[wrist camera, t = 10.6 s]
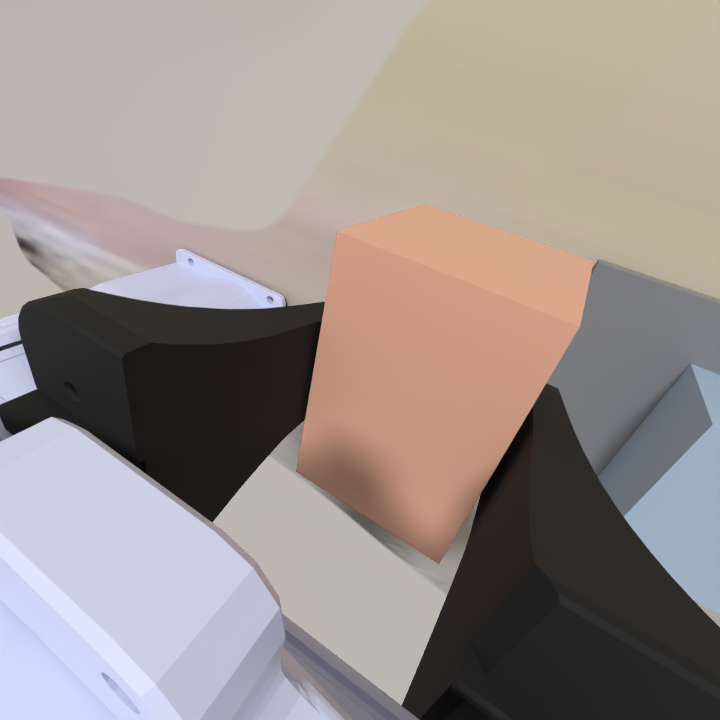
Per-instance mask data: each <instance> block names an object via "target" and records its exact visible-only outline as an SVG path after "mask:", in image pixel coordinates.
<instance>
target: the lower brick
mask: <svg viewBox="0 0 720 720" xmlns="http://www.w3.org/2000/svg"><path fill="white" fill-rule="evenodd" d="M598 479H599V480H600V482H601V484H602V485H603V487H604V488H605V490H606V491H607V493H608V495H609V496H610V498H611V499H612V501H613V502H614V504H615V505H616V507H617V508H618V510H619V511H620V513H621V514H622V515H623V517H624V518H625V520H626V521H627V522H628V524H629V525H630V526H631V528H632V529H633V530H634V531H635V533H636V534H637V535H638V537H639V538H640V539H641V540H642V542H643V543H644V544H645V545H646V547H647V548H648V549H649V551H650V552H651V553H652V554H653V555H654V557H655V558H656V559H657V560H658V561H659V562H660V564H661V565H662V566H663V567H664V568H665V570H666V571H667V572H668V573H669V574H670V575H671V576H672V578H673V579H674V580H675V581H676V582H677V583H678V584H679V585H680V586H681V587H682V588H683V590H684V591H685V592H686V593H687V594H688V595H689V596H690V597H691V598H692V599H693V601H695V602H697V603H699V604H701V605H702V606H704V607H706V608H708V609H710V610H712V611H713V612H715V613H717V614H719V613H720V375H719V374H716V373H714V372H711V371H708V370H706V369H703V368H701V367H698V366H696V365H693V364H690V365H689V366H688V368H687V369H686V370H685V371H684V373H683V374H682V375H681V376H680V377H679V379H678V380H677V381H676V382H675V383H674V385H673V386H672V387H671V388H670V389H669V391H668V392H667V393H666V394H665V396H664V397H663V398H662V399H661V400H660V402H659V403H658V404H657V405H656V406H655V408H654V409H653V410H652V411H651V413H650V414H649V415H648V416H647V417H646V419H645V420H644V421H643V422H642V423H641V425H640V426H639V427H638V428H637V429H636V431H635V432H634V433H633V434H632V436H631V437H630V438H629V439H628V440H627V442H626V443H625V444H624V445H623V446H622V448H621V449H620V450H619V451H618V452H617V454H616V455H615V456H614V457H613V459H612V460H611V461H610V462H609V463H608V465H607V466H606V467H605V468H604V469H603V471H602V472H601V473H600V474H599V476H598Z"/></svg>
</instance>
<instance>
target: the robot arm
mask: <svg viewBox="0 0 720 720" xmlns="http://www.w3.org/2000/svg"><path fill="white" fill-rule="evenodd" d="M271 297H272V299H273V301H272V300H271ZM324 306H325V302H320V303H312V304H305V305H296V306H286V301H285V298H284V297H283V296H282V295H281V294H278V293H276V292H274V291H272V290H270V289H268V288H266V287H264V286H262V285H259V284H257V283H255V282H253V281H251V280H249V279H247V278H245V277H242V276H240V275H238V274H236V273H234V272H232V271H230V270H228V269H226V268H223V267H221V266H219V265H217V264H215V263H213V262H211V261H209V260H206V259H204V258H202V257H200V256H198V255H196V254H194V253H192V252H189V251H187V250H185V249H179V250H177V251H176V263H172V264H169V265H165V266H161V267H158V268H154V269H151V270H147V271H143V272H140V273H136V274H132V275H129V276H125V277H121V278H118V279H114V280H110V281H107V282H103V283H101V284H98V285H96V286H94V287H92V288H90V289H86V288H79V289H73V290H69V291H66V292H62V293H59V294H55V295H51V296H47V297H44V298H40V299H36V300H32V301H29V302H27V303H26V304H25V305H24V306H23V307H22V309H21V311H20V313H18V314H14V315H11V316H8V317H4V318H1V319H0V720H720V627H719V626H718V625H717V624H716V623H715V622H714V621H713V620H712V619H711V618H710V617H709V616H708V615H707V614H706V613H705V612H704V611H703V610H702V609H701V608H700V607H699V606H698V605H697V604H696V603H695V602H694V601H693V599H692V598H691V597H690V596H689V595H688V594H687V593H686V592H685V591H684V590H683V588H682V587H681V586H680V585H679V584H678V583H677V582H676V581H675V580H674V579H673V578H672V576H671V575H670V574H669V573H668V572H667V571H666V570H665V568H664V567H663V566H662V565H661V564H660V562H659V561H658V560H657V559H656V558H655V557H654V555H653V554H652V553H651V552H650V551H649V549H648V548H647V547H646V545H645V544H644V543H643V542H642V540H641V539H640V538H639V537H638V535H637V534H636V533H635V531H634V530H633V529H632V528H631V526H630V525H629V524H628V522H627V521H626V520H625V518H624V517H623V515H622V514H621V513H620V511H619V510H618V508H617V507H616V505H615V504H614V502H613V501H612V499H611V498H610V496H609V495H608V493H607V491H606V490H605V488H604V487H603V485H602V484H601V482H600V480H599V479H598V477H597V475H596V474H595V472H594V470H593V468H592V466H591V464H590V462H589V460H588V458H587V457H586V455H585V453H584V451H583V449H582V447H581V444H580V442H579V440H578V438H577V436H576V433H575V431H574V429H573V426H572V424H571V421H570V419H569V416H568V413H567V411H566V408H565V405H564V402H563V400H562V397H561V394H560V391H559V389H558V388H556V387H554V386H552V385H549V384H547V383H546V385H545V386H544V388H543V390H542V391H541V393H540V395H539V396H538V398H537V400H536V401H535V403H534V405H533V407H532V408H531V410H530V412H529V413H528V415H527V417H526V418H525V420H524V422H523V423H522V425H521V427H520V428H519V430H518V432H517V433H516V435H515V437H514V439H513V440H512V442H511V444H510V445H509V447H508V449H507V450H506V452H505V454H504V455H503V457H502V459H501V460H500V462H499V464H498V466H497V467H496V469H495V471H494V472H493V474H492V476H491V477H490V479H489V481H488V482H487V484H486V486H485V487H484V489H483V491H482V492H481V495H480V499H479V503H478V507H477V510H476V514H475V518H474V522H473V525H472V529H471V533H470V536H469V539H468V543H467V546H466V549H465V552H464V554H463V557H462V559H461V562H460V564H459V567H458V570H457V572H456V575H455V577H454V580H453V582H452V585H451V587H450V590H449V592H448V595H447V598H446V600H445V602H444V605H443V607H442V610H441V612H440V615H439V617H438V620H437V622H436V625H435V627H434V629H433V632H432V634H431V637H430V639H429V642H428V644H427V646H426V649H425V651H424V654H423V656H422V659H421V661H420V664H419V666H418V668H417V671H416V673H415V675H414V678H413V680H412V682H411V685H410V687H409V690H408V692H407V694H406V697H405V699H404V702H403V704H402V706H401V705H400V704H398V703H397V702H396V701H395V700H393V699H392V698H391V697H389V696H388V695H387V694H386V693H384V692H383V691H382V690H380V689H379V688H378V687H376V686H375V685H374V684H372V683H371V682H370V681H369V680H367V679H366V678H365V677H364V676H362V675H361V674H360V673H358V672H357V671H356V670H354V669H353V668H352V667H351V666H349V665H348V664H346V663H345V662H344V661H343V660H342V659H340V658H339V657H338V656H336V655H335V654H334V653H332V652H331V651H330V650H329V649H327V648H326V647H325V646H323V645H322V644H321V643H319V642H318V641H317V640H316V639H314V638H313V637H312V636H310V635H309V634H308V633H307V632H305V631H304V630H303V629H301V628H300V627H299V626H297V625H296V624H295V623H293V622H292V621H291V620H290V619H288V618H287V617H286V616H284V615H283V614H282V611H281V605H280V601H279V596H278V595H277V593H276V591H275V590H274V588H273V587H272V585H271V584H270V582H269V581H268V579H267V578H266V576H265V575H264V573H263V572H262V570H261V569H260V567H259V566H258V564H257V563H256V561H255V560H254V559H253V558H251V556H250V555H248V554H247V553H246V552H245V551H244V550H243V549H242V548H241V547H240V546H239V545H238V544H237V543H236V542H234V540H232V539H231V538H230V537H229V536H228V535H227V534H226V533H225V532H224V531H223V530H222V529H220V528H219V527H218V526H216V525H215V524H213V523H212V522H213V521H214V520H215V518H216V517H217V516H218V515H219V513H220V512H221V511H222V510H223V508H224V507H225V506H226V505H227V504H228V502H229V501H230V500H231V499H232V497H233V496H234V495H235V493H236V492H237V491H238V490H239V489H240V488H241V486H242V485H243V484H244V483H245V481H247V479H248V478H249V477H250V476H251V475H252V473H253V472H254V471H255V470H256V469H257V468H258V466H259V465H260V464H261V463H262V462H263V461H264V460H265V459H266V458H267V456H268V455H269V454H270V453H271V452H272V451H273V450H274V449H275V448H276V447H277V445H278V444H279V443H280V442H281V441H282V440H283V439H284V438H285V437H286V436H287V435H288V434H289V433H290V432H291V431H292V430H293V429H295V428H296V427H297V426H298V425H299V424H300V423H301V422H303V421H304V420H305V417H306V411H307V405H308V399H309V393H310V388H311V382H312V376H313V370H314V364H315V358H316V352H317V347H318V341H319V335H320V329H321V323H322V317H323V312H324Z"/></svg>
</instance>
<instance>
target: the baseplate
mask: <svg viewBox="0 0 720 720" xmlns="http://www.w3.org/2000/svg"><path fill="white" fill-rule="evenodd" d="M690 364H693V365H696V366H698V367H701V368H703V369H706V370H708V371H711V372H714V373H716V374H719V375H720V300H719V299H716V298H713V297H710V296H707V295H704V294H701V293H698V292H695V291H692V290H689V289H686V288H683V287H680V286H677V285H674V284H671V283H668V282H665V281H662V280H659V279H656V278H653V277H650V276H647V275H644V274H641V273H638V272H635V271H632V270H629V269H626V268H623V267H620V266H617V265H614V264H611V263H609V262H606V261H603V260H600V259H599V261H598V262H597V264H596V266H595V268H594V269H593V271H592V273H591V277H590V281H589V286H588V291H587V296H586V300H585V305H584V310H583V314H582V319H581V324H580V327H579V329H578V331H577V332H576V334H575V336H574V337H573V339H572V341H571V342H570V344H569V346H568V348H567V349H566V351H565V353H564V354H563V356H562V358H561V359H560V361H559V363H558V364H557V366H556V368H555V369H554V371H553V373H552V375H551V376H550V378H549V380H548V381H547V384H549V385H552V386H554V387H556V388H558V389H559V391H560V394H561V397H562V400H563V402H564V405H565V408H566V411H567V413H568V416H569V419H570V421H571V424H572V426H573V429H574V431H575V433H576V436H577V438H578V440H579V442H580V444H581V447H582V449H583V451H584V453H585V455H586V457H587V458H588V460H589V462H590V464H591V466H592V468H593V470H594V472H595V474H596V475H597V477H598V476H599V474H600V473H601V472H602V471H603V469H604V468H605V467H606V466H607V465H608V463H609V462H610V461H611V460H612V459H613V457H614V456H615V455H616V454H617V452H618V451H619V450H620V449H621V448H622V446H623V445H624V444H625V443H626V442H627V440H628V439H629V438H630V437H631V436H632V434H633V433H634V432H635V431H636V429H637V428H638V427H639V426H640V425H641V423H642V422H643V421H644V420H645V419H646V417H647V416H648V415H649V414H650V413H651V411H652V410H653V409H654V408H655V406H656V405H657V404H658V403H659V402H660V400H661V399H662V398H663V397H664V396H665V394H666V393H667V392H668V391H669V389H670V388H671V387H672V386H673V385H674V383H675V382H676V381H677V380H678V379H679V377H680V376H681V375H682V374H683V373H684V371H685V370H686V369H687V368H688V366H689V365H690Z"/></svg>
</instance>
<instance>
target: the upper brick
mask: <svg viewBox="0 0 720 720" xmlns="http://www.w3.org/2000/svg"><path fill="white" fill-rule="evenodd" d="M592 267H593V261H591V260H588V259H585V258H582V257H579V256H576V255H573V254H570V253H567V252H564V251H561V250H558V249H555V248H552V247H550V246H547V245H544V244H541V243H538V242H535V241H532V240H529V239H526V238H523V237H520V236H517V235H514V234H511V233H509V232H506V231H503V230H500V229H497V228H494V227H491V226H488V225H485V224H482V223H479V222H476V221H473V220H470V219H468V218H465V217H462V216H459V215H456V214H453V213H450V212H447V211H444V210H441V209H438V208H435V207H432V206H429V205H427V204H423V205H420V206H417V207H414V208H410V209H407V210H404V211H400V212H397V213H394V214H391V215H387V216H384V217H381V218H378V219H374V220H371V221H368V222H364V223H361V224H358V225H355V226H351V227H348V228H345V229H341V230H338V231H337V235H336V241H335V247H334V253H333V259H332V265H331V271H330V276H329V282H328V288H327V294H326V300H325V306H324V312H323V317H322V323H321V329H320V335H319V341H318V347H317V352H316V358H315V364H314V370H313V376H312V382H311V388H310V393H309V399H308V405H307V411H306V417H305V423H304V428H303V434H302V440H301V446H300V452H299V458H298V464H297V469H296V472H298V473H299V474H301V475H302V476H304V477H305V478H307V479H308V480H310V481H311V482H313V483H315V484H316V485H318V486H319V487H321V488H322V489H324V490H325V491H327V492H328V493H330V494H332V495H333V496H335V497H336V498H338V499H339V500H341V501H342V502H344V503H345V504H347V505H349V506H350V507H352V508H353V509H355V510H356V511H358V512H359V513H361V514H362V515H364V516H366V517H367V518H369V519H370V520H372V521H373V522H375V523H376V524H378V525H379V526H381V527H383V528H384V529H386V530H387V531H389V532H390V533H392V534H393V535H395V536H396V537H398V538H400V539H401V540H403V541H404V542H406V543H407V544H409V545H410V546H412V547H413V548H415V549H416V550H418V551H420V552H421V553H423V554H424V555H426V556H427V557H429V558H430V559H432V560H433V561H435V562H437V563H438V564H439V563H440V562H441V560H442V558H443V556H444V555H445V553H446V551H447V550H448V548H449V546H450V545H451V543H452V541H453V540H454V538H455V536H456V535H457V533H458V531H459V530H460V528H461V526H462V524H463V523H464V521H465V519H466V518H467V516H468V514H469V513H470V511H471V509H472V508H473V506H474V504H475V503H476V501H477V499H478V498H479V496H480V494H481V492H482V491H483V489H484V487H485V486H486V484H487V482H488V481H489V479H490V477H491V476H492V474H493V472H494V471H495V469H496V467H497V466H498V464H499V462H500V460H501V459H502V457H503V455H504V454H505V452H506V450H507V449H508V447H509V445H510V444H511V442H512V440H513V439H514V437H515V435H516V433H517V432H518V430H519V428H520V427H521V425H522V423H523V422H524V420H525V418H526V417H527V415H528V413H529V412H530V410H531V408H532V407H533V405H534V403H535V401H536V400H537V398H538V396H539V395H540V393H541V391H542V390H543V388H544V386H545V385H546V383H547V381H548V380H549V378H550V376H551V375H552V373H553V371H554V369H555V368H556V366H557V364H558V363H559V361H560V359H561V358H562V356H563V354H564V353H565V351H566V349H567V348H568V346H569V344H570V342H571V341H572V339H573V337H574V336H575V334H576V332H577V331H578V329H579V327H580V324H581V319H582V314H583V310H584V305H585V300H586V296H587V291H588V286H589V281H590V277H591V272H592Z"/></svg>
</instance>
